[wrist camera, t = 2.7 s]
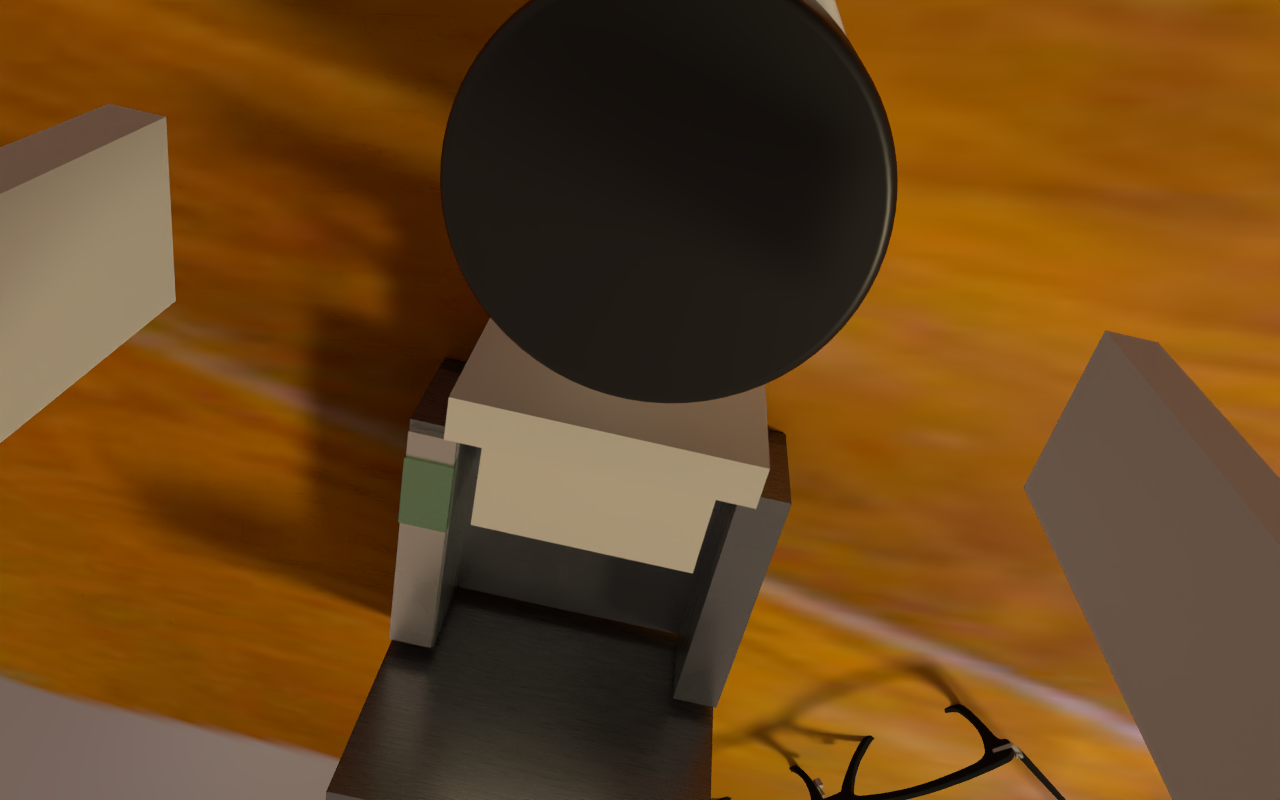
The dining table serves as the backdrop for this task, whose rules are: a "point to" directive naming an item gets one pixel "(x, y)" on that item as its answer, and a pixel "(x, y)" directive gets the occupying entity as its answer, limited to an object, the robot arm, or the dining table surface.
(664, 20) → the jar
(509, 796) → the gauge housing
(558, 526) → the beige angular block
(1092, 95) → the dining table surface
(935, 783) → the eyeglasses
